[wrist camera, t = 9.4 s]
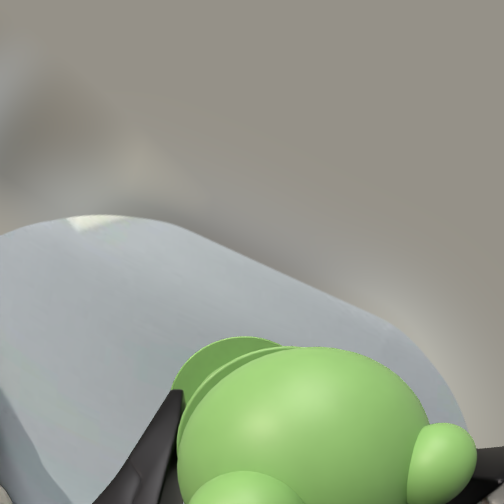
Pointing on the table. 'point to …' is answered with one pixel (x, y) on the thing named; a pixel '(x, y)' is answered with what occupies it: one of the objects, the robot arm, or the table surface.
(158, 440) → the robot arm
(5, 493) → the figurine
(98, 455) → the table surface
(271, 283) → the table surface
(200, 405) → the toy
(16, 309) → the table surface
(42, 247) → the table surface
